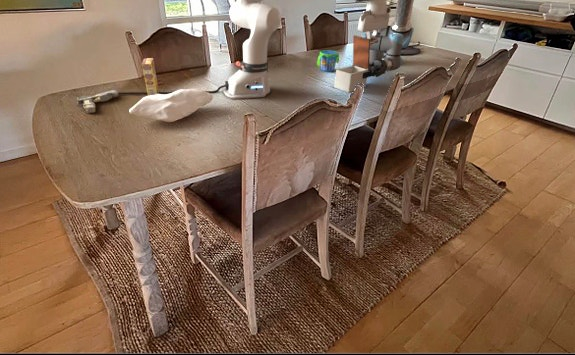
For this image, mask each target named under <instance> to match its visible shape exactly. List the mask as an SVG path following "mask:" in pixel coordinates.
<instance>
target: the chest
mask: <svg viewBox="0 0 575 355" xmlns="http://www.w3.org/2000/svg"><path fill="white" fill-rule="evenodd" d="M352 65H353V64H352ZM352 65H348V66H345V67H341V68H337V69H335V76H334V85H333V88H336V89H338V90H339V91H343V92H347V93H351V92H355V91H354V89H355V85H356V84H358V83H363V84H364V88H366V87H367V80H368V77H367V78H364V79H363V73H365V72H368V69H364V68H361V67H358V66H354V65H353V66H352Z"/></svg>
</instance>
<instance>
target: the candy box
mask: <svg viewBox="0 0 575 355" xmlns="http://www.w3.org/2000/svg"><path fill="white" fill-rule="evenodd" d="M141 66H142V73H143V78H144V82H145V87H146V92H147V93H148V94H147V96H150V95H156V94H158V92H160V90H159V84H158V79H157V73H156V66H155V62H154V58H153V57H151V58H150V57H149V58H146V57H145V58H143V60H142V63H141Z"/></svg>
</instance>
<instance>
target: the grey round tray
mask: <svg viewBox="0 0 575 355" xmlns="http://www.w3.org/2000/svg"><path fill="white" fill-rule="evenodd" d="M383 52H384V53H387V51H383ZM419 53H421V49H420V48H419V47H415V46H412V47H407V48H402V49H401V53H400V55H415V54H419Z"/></svg>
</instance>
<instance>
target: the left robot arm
mask: <svg viewBox="0 0 575 355" xmlns="http://www.w3.org/2000/svg"><path fill="white" fill-rule="evenodd" d="M262 2H263V0H236V1H234V2H233V3H232V4H231V6H230V8H229V18H230V21H231V22H232V24H234V25H236V26H238V27H240V28H243V29H247V30H250V34H249V38H247V39H246V40H245V41H244V42H243V43H242V59H243V60H242V61H236V62H235V65H236V66H237V67H239V69H237V71H236V72H235V73H234V74H232V75H231V76H230V77H229V78H228V80H225V81H224V84H223V85H220V86H218V88H217V89H215V90H205V91H206V92H208V93H210V94H216V93H218V92H220V90H221V89H223V91H222V92H223V94H224V95H225V96H226V97H228V98H230V99H233V100H236V99H237V100H238V99H239V100H240V99H253V98H254V99H255V98H264V97H266V95H268V94H269V93H270V92H271V88H270V84H269V78H268V76H269V75H268V72H269V61H268V47H269V41H270V38H271V36H272V35H273V34H274V33H275V32H276V31H277V30H278V29H279V27H280V24H281V21H282V20H281V19H282V18H281V13H280V11H279V9H278V8H276V7H275V6H272V5H270V4H267V3H262ZM354 2H357V3H363V2H366V8H365V10H364V11H363V12H361V15H360V17H359V20H358V24H357V31H358V32H359V33H365V34H366V33H367V38H368V39H370V40H372V38H373V39H375V38H376V35H377V33H378V30H379V29H384V28H387V26H389V22H390V17H391V16H390V13H391V11H392V8H391V7H389V6H387V0H354ZM372 31H374V32H373V34H372V35H371V33H372ZM117 92H118V91H117ZM173 92H174V91H159V92H158V94H164V95H167V94H171V93H173ZM118 94H119V95H148V93H147V91H120V92H118Z"/></svg>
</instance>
